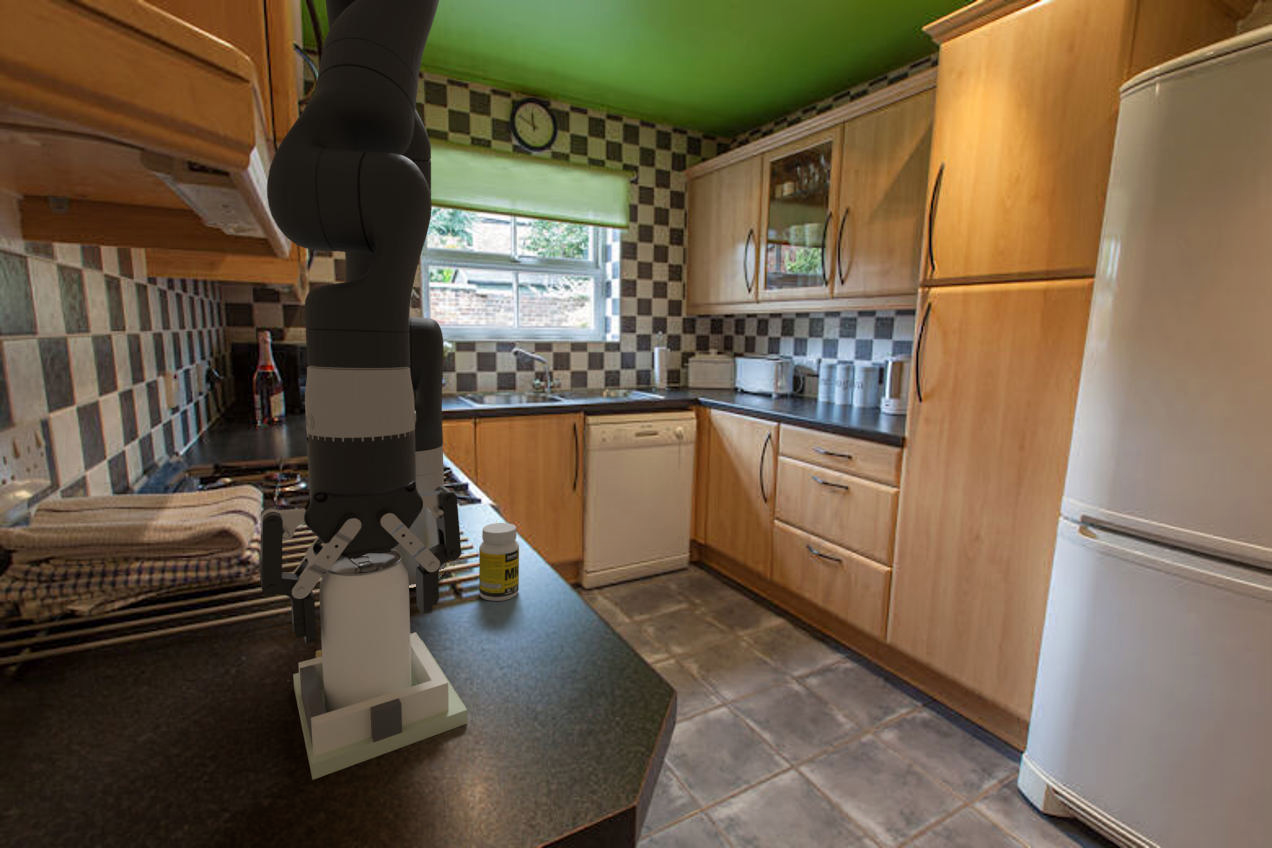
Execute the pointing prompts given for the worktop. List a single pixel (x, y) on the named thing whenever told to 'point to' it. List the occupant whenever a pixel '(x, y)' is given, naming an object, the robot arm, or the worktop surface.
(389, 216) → the robot arm
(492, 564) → the supplement bottle
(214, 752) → the worktop surface
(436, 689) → the socket board
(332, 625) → the can
